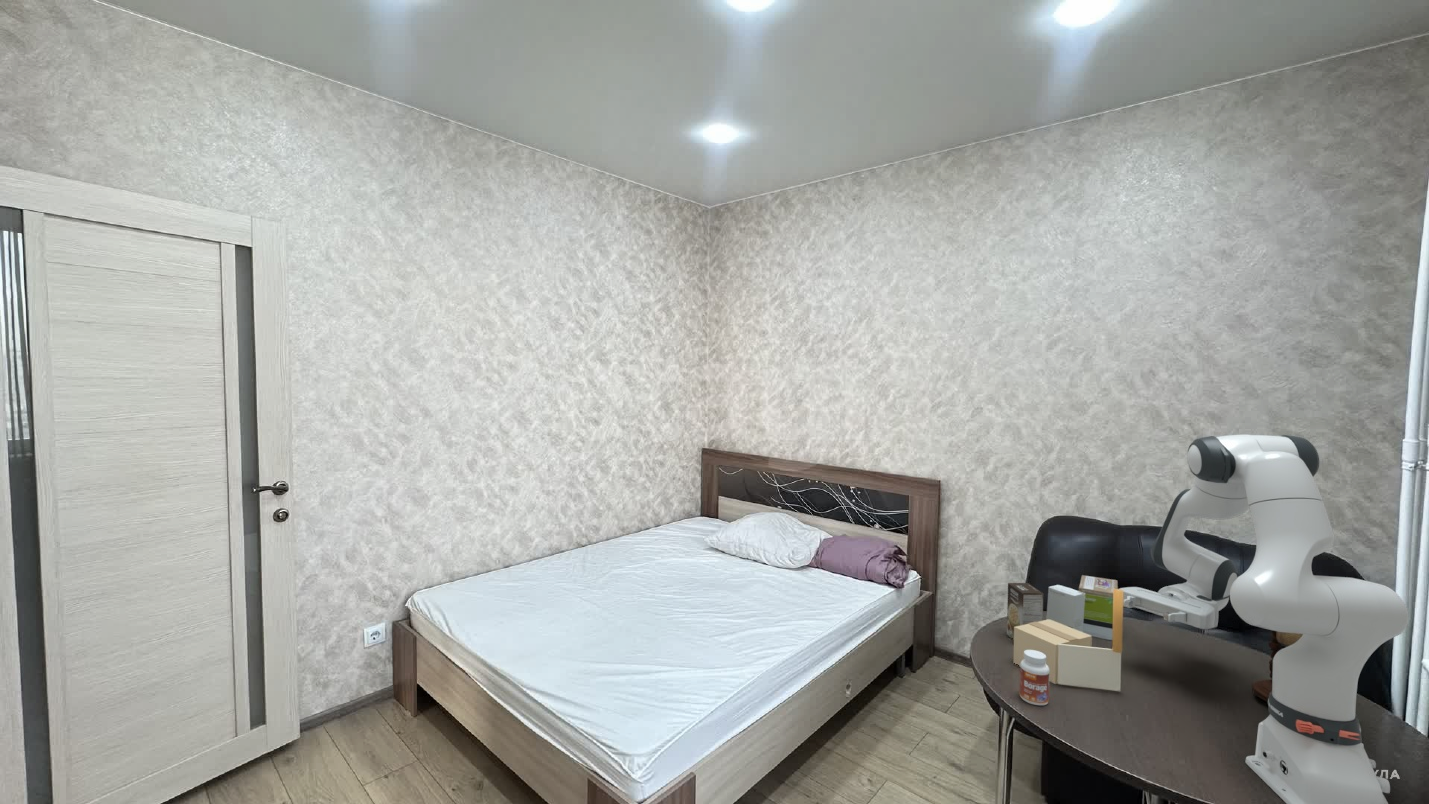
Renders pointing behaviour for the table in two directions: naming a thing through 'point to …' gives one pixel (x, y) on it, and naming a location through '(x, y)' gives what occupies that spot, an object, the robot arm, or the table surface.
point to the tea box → (1098, 606)
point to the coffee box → (1023, 606)
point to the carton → (1047, 642)
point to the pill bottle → (1034, 678)
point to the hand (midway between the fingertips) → (1145, 610)
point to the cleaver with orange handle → (1094, 658)
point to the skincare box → (1066, 606)
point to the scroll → (1265, 686)
